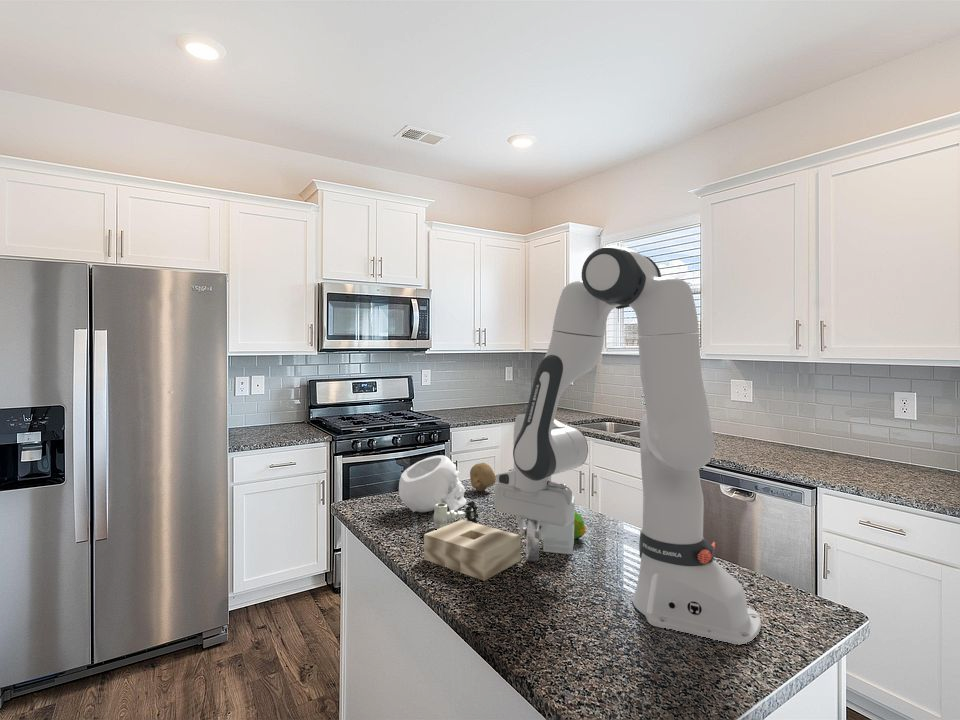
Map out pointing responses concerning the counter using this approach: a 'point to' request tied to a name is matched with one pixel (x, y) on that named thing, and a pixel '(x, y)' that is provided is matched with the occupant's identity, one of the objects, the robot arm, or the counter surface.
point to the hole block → (472, 549)
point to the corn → (578, 526)
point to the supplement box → (560, 537)
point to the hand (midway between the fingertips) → (532, 536)
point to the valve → (452, 514)
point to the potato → (482, 476)
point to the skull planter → (431, 485)
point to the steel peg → (532, 540)
